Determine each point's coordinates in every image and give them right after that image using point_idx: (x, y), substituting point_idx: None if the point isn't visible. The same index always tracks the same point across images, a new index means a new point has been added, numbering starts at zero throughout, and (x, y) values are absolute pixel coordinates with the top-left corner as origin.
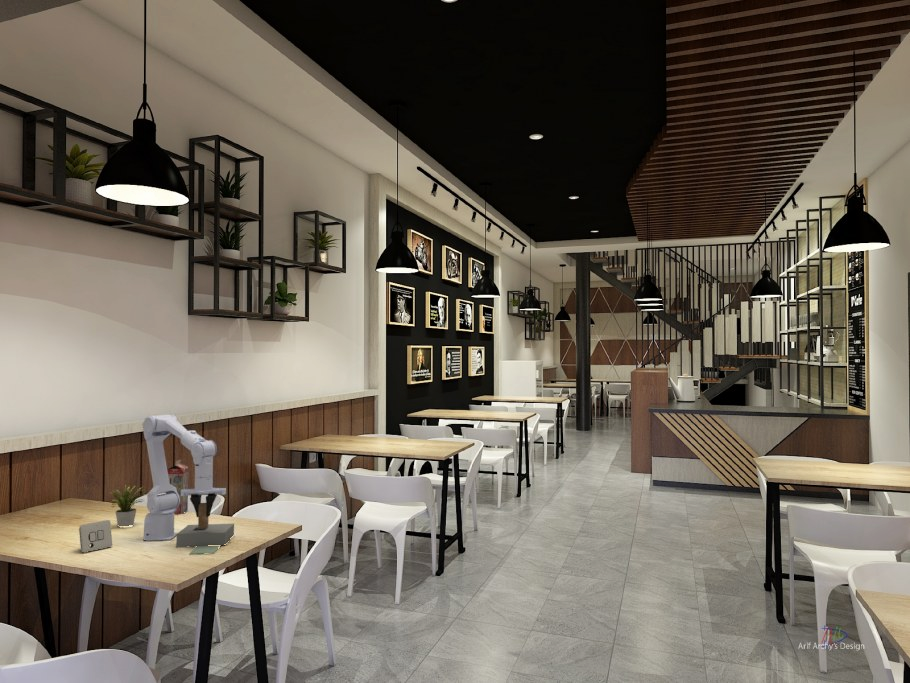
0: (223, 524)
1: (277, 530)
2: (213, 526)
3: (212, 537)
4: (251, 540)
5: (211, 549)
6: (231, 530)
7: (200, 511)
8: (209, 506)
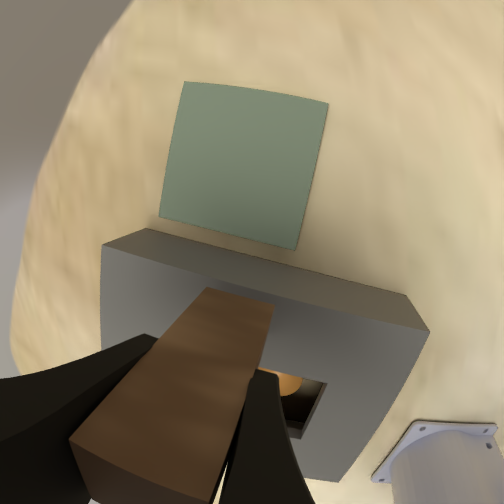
0: None
1: (28, 363)
2: None
3: (188, 258)
4: (59, 277)
5: (202, 148)
6: None
7: (209, 403)
8: (37, 373)
